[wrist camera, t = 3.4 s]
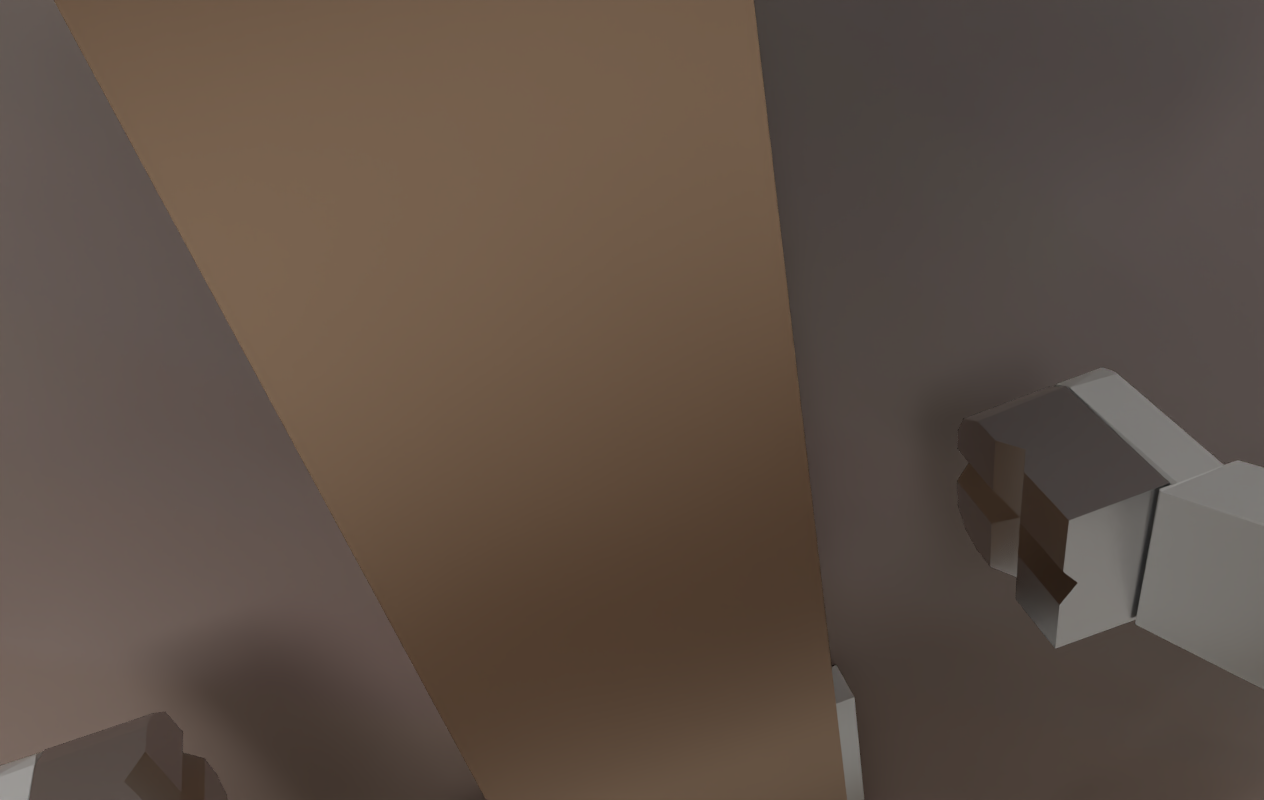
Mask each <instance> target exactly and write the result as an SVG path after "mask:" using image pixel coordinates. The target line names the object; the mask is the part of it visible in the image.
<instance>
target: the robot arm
mask: <svg viewBox="0 0 1264 800" xmlns="http://www.w3.org/2000/svg"><path fill="white" fill-rule="evenodd" d="M957 449H958V450H959V451H960V453H961V454H962V455H963V456H964V457H965V458H966V460H967V461H968V462H969V464H968V465H967V467H966V468H965V470H964V471H963V473H962V474H961V476H960V477H959V479H958V480H957V495H958V507H959V510H960V513H961V516H962V519H963V523H964V526H965V529H966V531H967V533H968V535H969V536H970V538H971V540H972V542H973V544H974V545H975V547H976V549H977V550H978V552H979V553H980V554H981V555H982V557H983V558H984V559H985V561H986V562H987V563H988V565H989V566H990V567H992V568H995V569H997V570H1000V571H1002V572H1005V573H1007V574H1010V575H1012V576H1015V577H1017V581H1016V600H1017V601H1018V603H1019V604H1020V605H1021V606H1022V608H1023V609H1024V610H1025V611H1026V613H1027V614H1028V615H1029V616H1030V618H1031V619H1032V620H1033V621H1034V623H1035V624H1036V625H1037V626H1038V628H1039V629H1040V630H1041V631H1042V633H1043V634H1044V635H1045V636H1046V638H1047V639H1048V640H1049V641H1050V643H1051V644H1052V645H1053V646H1054V648H1055V649H1056V648H1058V647H1061V646H1064V645H1067V644H1069V643H1072V642H1075V641H1078V640H1081V639H1083V638H1086V637H1089V636H1092V635H1094V634H1097V633H1100V632H1103V631H1105V630H1108V629H1111V628H1114V627H1116V626H1119V625H1122V624H1125V623H1128V622H1130V621H1133V620H1136V621H1135V625H1137V626H1139V627H1141V628H1143V629H1145V630H1147V631H1149V632H1151V633H1153V634H1155V635H1157V636H1159V637H1161V638H1163V639H1165V640H1167V641H1169V642H1171V643H1173V644H1175V645H1177V646H1179V647H1181V648H1183V649H1185V650H1187V651H1189V652H1191V653H1193V654H1195V655H1196V656H1198V657H1200V658H1202V659H1204V660H1206V661H1208V662H1210V663H1212V664H1214V665H1216V666H1218V667H1220V668H1222V669H1224V670H1226V671H1228V672H1230V673H1232V674H1234V675H1236V676H1238V677H1240V678H1242V679H1244V680H1246V681H1248V682H1250V683H1252V684H1254V685H1256V686H1258V687H1260V688H1262V689H1264V467H1260V466H1257V465H1253V464H1250V463H1246V462H1243V461H1240V460H1237V461H1234V462H1231V463H1228V464H1225V465H1224V464H1222V463H1221V462H1220V461H1219V460H1218V459H1217V458H1215V457H1214V456H1213V455H1212V454H1211V453H1210V452H1208V451H1207V450H1206V449H1205V448H1204V447H1203V446H1201V445H1200V444H1199V443H1198V442H1197V441H1196V440H1194V439H1193V438H1192V437H1191V436H1190V435H1189V434H1187V433H1186V432H1185V431H1184V430H1183V429H1182V428H1180V427H1179V426H1178V425H1177V424H1176V423H1175V422H1173V421H1172V420H1171V419H1170V418H1169V417H1168V416H1166V415H1165V414H1164V413H1163V412H1162V411H1161V410H1159V409H1158V408H1157V407H1156V406H1155V405H1154V404H1152V403H1151V402H1150V401H1149V400H1148V399H1147V398H1145V397H1144V396H1143V395H1142V394H1141V393H1140V392H1138V391H1137V390H1136V389H1135V388H1134V387H1132V386H1131V385H1130V384H1129V383H1128V382H1127V381H1125V380H1124V379H1123V378H1122V377H1121V376H1120V375H1118V374H1117V373H1116V372H1115V371H1112V370H1109V369H1106V368H1103V367H1101V368H1098V369H1096V370H1093V371H1090V372H1088V373H1085V374H1082V375H1079V376H1077V377H1074V378H1071V379H1069V380H1066V381H1063V382H1060V383H1058V384H1056V385H1054V386H1049V387H1046V388H1043V389H1041V390H1038V391H1035V392H1033V393H1030V394H1027V395H1025V396H1022V397H1019V398H1017V399H1014V400H1011V401H1009V402H1006V403H1003V404H1001V405H998V406H995V407H993V408H990V409H987V410H985V411H982V412H979V413H977V414H974V415H971V416H969V417H966V418H963V420H962V422H961V424H960V426H959V429H958V443H957ZM0 800H228V798H227V794H226V792H225V790H224V788H223V786H222V784H221V782H220V780H219V777H218V775H217V773H216V772H215V771H214V770H213V768H212V767H211V766H210V764H209V763H208V762H207V761H206V759H205V758H201V757H197V756H194V755H190V754H186V753H183V731H182V730H181V729H180V728H179V727H178V725H177V724H176V723H175V722H174V721H173V720H172V719H171V718H170V717H169V715H168V714H167V713H166V712H158V713H152V714H149V715H146V716H143V717H140V718H137V719H134V720H131V721H128V722H125V723H122V724H119V725H116V726H113V727H110V728H108V729H105V730H102V731H99V732H96V733H93V734H90V735H87V736H84V737H81V738H78V739H75V740H72V741H69V742H66V743H63V744H60V745H57V746H54V747H51V748H48V749H45V750H44V751H42V752H39V753H36V754H33V755H30V756H27V757H24V758H21V759H18V760H15V761H12V762H9V763H6V764H3V765H0Z"/></svg>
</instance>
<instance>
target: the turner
mask: <svg viewBox="0 0 1264 800" xmlns="http://www.w3.org/2000/svg"><path fill="white" fill-rule="evenodd" d="M54 2H55V3H56V5H57V7H58V9H59V11H60V13H61V15H62V16H63V18H64V20H65V22H66V24H67V26H68V28H69V29H70V31H71V33H72V35H73V37H74V39H75V41H76V42H77V44H78V46H79V48H80V50H81V52H82V53H83V55H84V57H85V59H86V61H87V63H88V65H89V66H90V68H91V70H92V72H93V74H94V76H95V78H96V79H97V81H98V83H99V85H100V87H101V89H102V90H103V92H104V94H105V96H106V98H107V100H108V102H109V103H110V105H111V107H112V109H113V111H114V113H115V115H116V116H117V118H118V120H119V122H120V124H121V126H122V127H123V129H124V131H125V133H126V135H127V137H128V139H129V140H130V142H131V144H132V146H133V148H134V150H135V152H136V153H137V155H138V157H139V159H140V161H141V163H142V164H143V166H144V168H145V170H146V172H147V174H148V176H149V177H150V179H151V181H152V183H153V185H154V187H155V189H156V190H157V192H158V194H159V196H160V198H161V200H162V201H163V203H164V205H165V207H166V209H167V211H168V213H169V214H170V216H171V218H172V220H173V222H174V224H175V226H176V227H177V229H178V231H179V233H180V235H181V237H182V238H183V240H184V242H185V244H186V246H187V248H188V250H189V251H190V253H191V255H192V257H193V259H194V261H195V263H196V264H197V266H198V268H199V270H200V272H201V274H202V275H203V277H204V279H205V281H206V283H207V285H208V287H209V288H210V290H211V292H212V294H213V296H214V298H215V300H216V301H217V303H218V305H219V307H220V309H221V311H222V312H223V314H224V316H225V318H226V320H227V322H228V324H229V325H230V327H231V329H232V331H233V333H234V335H235V337H236V338H237V340H238V342H239V344H240V346H241V348H242V349H243V351H244V353H245V355H246V357H247V359H248V361H249V362H250V364H251V366H252V368H253V370H254V372H255V374H256V375H257V377H258V379H259V381H260V383H261V385H262V386H263V388H264V390H265V392H266V394H267V396H268V398H269V399H270V401H271V403H272V405H273V407H274V409H275V411H276V412H277V414H278V416H279V418H280V420H281V422H282V423H283V425H284V427H285V429H286V431H287V433H288V435H289V436H290V438H291V440H292V442H293V444H294V446H295V448H296V449H297V451H298V453H299V455H300V457H301V459H302V460H303V462H304V464H305V466H306V468H307V470H308V472H309V473H310V475H311V477H312V479H313V481H314V483H315V485H316V486H317V488H318V490H319V492H320V494H321V496H322V497H323V499H324V501H325V503H326V505H327V507H328V509H329V510H330V512H331V514H332V516H333V518H334V520H335V522H336V523H337V525H338V527H339V529H340V531H341V533H342V534H343V536H344V538H345V540H346V542H347V544H348V546H349V547H350V549H351V551H352V553H353V555H354V557H355V559H356V560H357V562H358V564H359V566H360V568H361V570H362V572H363V573H364V575H365V577H366V579H367V581H368V583H369V584H370V586H371V588H372V590H373V592H374V594H375V596H376V597H377V599H378V601H379V603H380V605H381V607H382V609H383V610H384V612H385V614H386V616H387V618H388V620H389V621H390V623H391V625H392V627H393V629H394V631H395V633H396V634H397V636H398V638H399V640H400V642H401V644H402V646H403V647H404V649H405V651H406V653H407V655H408V657H409V658H410V660H411V662H412V664H413V666H414V668H415V670H416V671H417V673H418V675H419V677H420V679H421V681H422V683H423V684H424V686H425V688H426V690H427V692H428V694H429V695H430V697H431V699H432V701H433V703H434V705H435V707H436V708H437V710H438V712H439V714H440V716H441V718H442V720H443V721H444V723H445V725H446V727H447V729H448V731H449V732H450V734H451V736H452V738H453V740H454V742H455V744H456V745H457V747H458V749H459V751H460V753H461V755H462V757H463V758H464V760H465V762H466V764H467V766H468V768H469V769H470V771H471V773H472V775H473V777H474V779H475V781H476V782H477V784H478V786H479V788H480V790H481V792H482V794H483V795H484V797H485V799H486V800H864V791H863V781H862V771H861V760H860V750H859V740H858V729H857V719H856V709H855V698H854V695H853V694H852V692H851V690H850V688H849V687H848V685H847V683H846V681H845V679H844V678H843V676H842V674H841V672H840V671H839V669H838V667H837V665H835V666H833V667H832V666H831V657H830V649H829V640H828V631H827V623H826V614H825V606H824V597H823V589H822V580H821V572H820V563H819V554H818V546H817V537H816V529H815V520H814V512H813V503H812V494H811V486H810V477H809V469H808V460H807V452H806V443H805V435H804V426H803V417H802V409H801V400H800V392H799V383H798V375H797V366H796V357H795V349H794V340H793V332H792V323H791V315H790V306H789V298H788V289H787V280H786V272H785V263H784V255H783V246H782V238H781V229H780V220H779V212H778V203H777V195H776V186H775V178H774V169H773V161H772V152H771V143H770V135H769V126H768V118H767V109H766V101H765V92H764V84H763V75H762V66H761V58H760V49H759V41H758V32H757V24H756V15H755V6H754V0H54Z"/></svg>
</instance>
